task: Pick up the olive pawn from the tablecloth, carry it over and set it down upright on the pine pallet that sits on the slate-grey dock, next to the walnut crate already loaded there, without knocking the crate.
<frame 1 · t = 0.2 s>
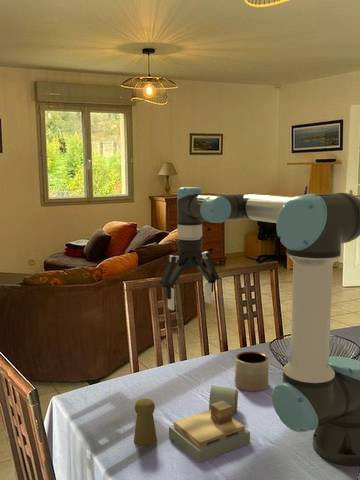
hand: (190, 305, 156), 28 cm above the table, fingers open, 13 cm apart
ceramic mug: (222, 410, 148), on the table
olive pawn: (145, 441, 132), on the table
pallet: (209, 426, 131), on the dock, point 3 cm above the table
planter: (251, 385, 164), on the table
dock: (209, 439, 132), on the table
crate: (221, 419, 133), point 4 cm above the table, touching pallet
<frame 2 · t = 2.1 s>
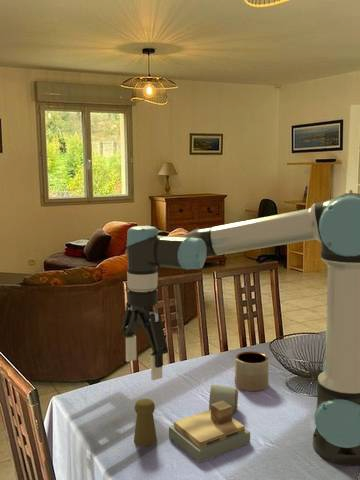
hand: (143, 369, 129), 20 cm above the table, fingers open, 13 cm apart
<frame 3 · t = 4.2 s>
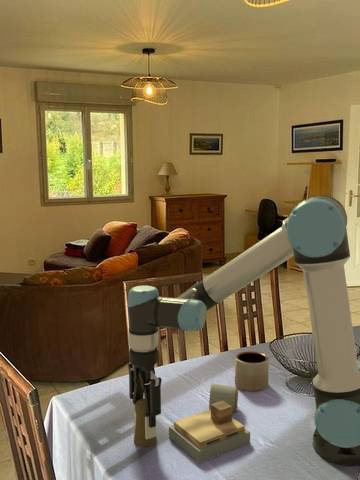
hand: (145, 432, 131), 2 cm above the table, fingers closed on olive pawn, 5 cm apart
olive pawn: (145, 441, 132), on the table, touching gripper
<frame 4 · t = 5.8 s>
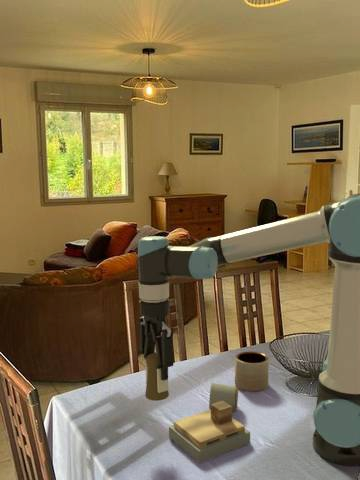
hand: (157, 386, 129), 15 cm above the table, fingers closed on olive pawn, 5 cm apart
olive pawn: (157, 395, 129), point 13 cm above the table, touching gripper
when the fingers open (7 cm above the table, at t = 7.8 s): olive pawn stays where it is, resting on pallet.
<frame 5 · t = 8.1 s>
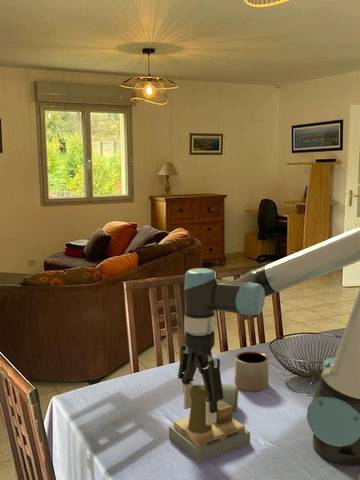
hand: (199, 415, 129), 8 cm above the table, fingers open, 9 cm apart
olive pawn: (199, 427, 130), point 4 cm above the table, touching pallet
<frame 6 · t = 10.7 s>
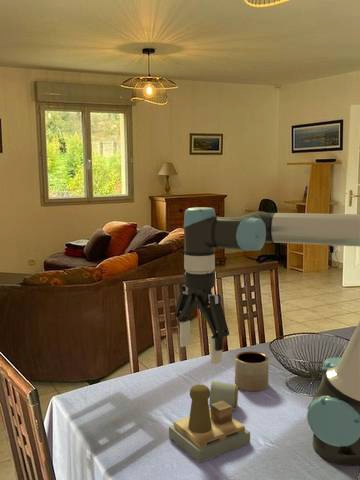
hand: (200, 353, 126), 24 cm above the table, fingers open, 13 cm apart
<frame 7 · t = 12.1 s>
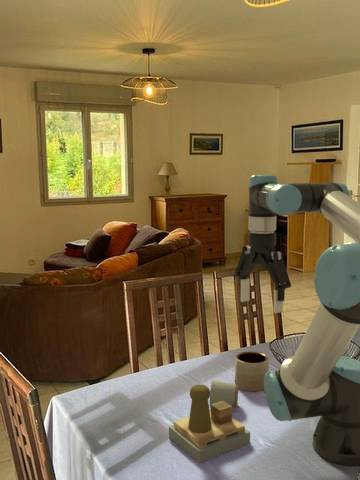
hand: (260, 306, 141), 32 cm above the table, fingers open, 13 cm apart
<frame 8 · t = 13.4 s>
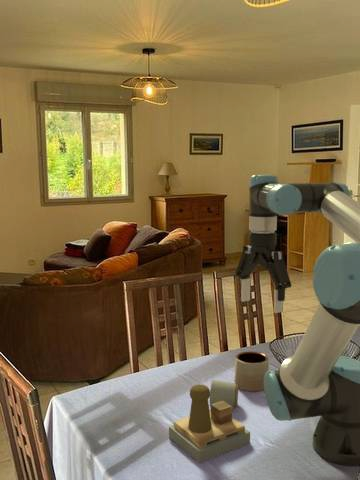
hand: (261, 306, 142), 32 cm above the table, fingers open, 13 cm apart
at the end: olive pawn inside the target area on the pallet (3.0 cm from its centre), point 4.3 cm above the pallet's base; olive pawn tilted 0°; crate moved 0.1 cm from its start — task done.
